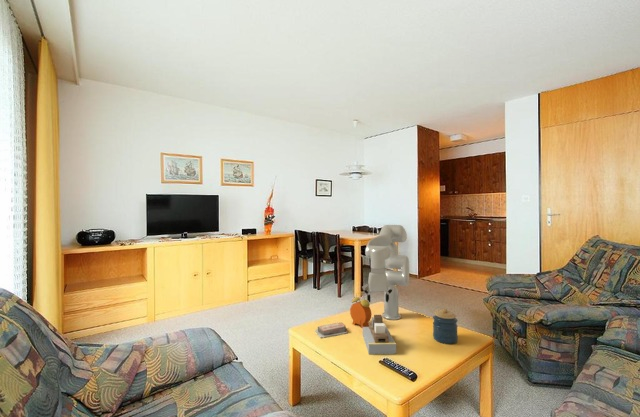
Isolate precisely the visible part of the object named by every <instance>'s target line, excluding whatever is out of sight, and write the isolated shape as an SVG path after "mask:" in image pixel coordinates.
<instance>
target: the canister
mask: <svg viewBox="0 0 640 417" xmlns="http://www.w3.org/2000/svg"><path fill="white" fill-rule="evenodd" d="M456 317H457V315H456V313H453V311H451V310H448V309H447V308H446V307H444V308H442V309H438V310H436V311H434V315H433V316H432V319H433V322H432V324H433V325H432V327H433V329H432V330H433V332H432V337H433V339H434V340H435V341H436V342H438V343H440V344H444V343H445V344H444V345H453V344H452V343H454V344H457V343H458V339H459V337H458V319H457V318H456Z"/></svg>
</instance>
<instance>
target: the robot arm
mask: <svg viewBox="0 0 640 417" xmlns="http://www.w3.org/2000/svg"><path fill="white" fill-rule="evenodd" d="M407 238H408V234H407V230H406V229H405V227H404V226H403V225H401V224H384V225H383V226H382V227H381V230H380V231H379V235H377V236H376V237H373V238H371V239H369V240H368V242H367V245H366V247H365V249H364V251H365V253H364V254H365V257H366V258H368V259H370V272H369V273H368V280H367V283H366V284H363V286H361V288H362V290H363V292H364V293H365V294H366V300H367V301H368V302H369V304H370V303H371V293H379V292H381V293H382V292H384V294H383V299H384V301H383V304H384V305H383V308H384V309H383V312H382V313H381V316H382V317H383V319H386V320H390V321H392V320H393V321H396V320H400V319H401V318H402V315H401V313H399V309H400V308H399V288H397V286H401V287H407V286H409V283H410V260H409V257H408V256H407V255H405V254H399V251H398V250H399V247H398V246H397V244H396V243H405V242H406V241H407ZM388 269H394V270H388ZM366 288H367V289H368V290H366Z"/></svg>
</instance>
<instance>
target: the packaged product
mask: <svg viewBox="0 0 640 417" xmlns="http://www.w3.org/2000/svg"><path fill="white" fill-rule="evenodd" d="M315 332H316V333H317V334H316V333H315ZM314 333H315V334H316V335H317V336H318V338H320V339H324V338H323V337H325V338H330V337H336V336H340V335H346V334H349V331H347V326H346V324H345V323H343V322H335V323H329V324H322V325H318V326H317V329H314Z"/></svg>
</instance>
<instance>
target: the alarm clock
mask: <svg viewBox="0 0 640 417" xmlns="http://www.w3.org/2000/svg"><path fill="white" fill-rule="evenodd" d="M357 295H362V296H363V294H361V293H359V292H357ZM351 303H352V304H351V306H350V310H349V314H350V317H351V319H352V323H351V324H352V325H353V326H356V325H358V326H360V328H361V329H363V327H369V322H371V320H372V310H371V307H370V303H369V301H368V300H367V299H365V298H363V299H362V300H361V298H360V297H358V296H354V298H353V299H352V300H351Z"/></svg>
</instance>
